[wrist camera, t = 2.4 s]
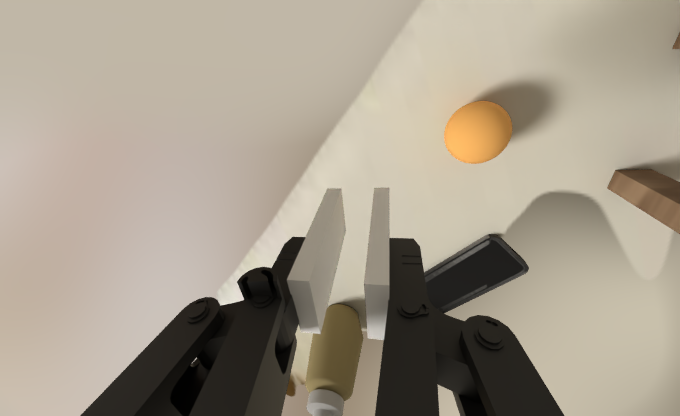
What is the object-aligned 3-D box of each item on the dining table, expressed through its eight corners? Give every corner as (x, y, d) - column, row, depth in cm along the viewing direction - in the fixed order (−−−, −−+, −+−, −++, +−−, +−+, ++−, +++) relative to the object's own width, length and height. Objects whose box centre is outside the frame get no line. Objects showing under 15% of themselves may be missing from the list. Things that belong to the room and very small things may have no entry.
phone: (401, 289, 39) (494, 234, 31) (401, 284, 40) (491, 228, 32) (437, 317, 40) (533, 270, 33) (436, 311, 41) (529, 264, 34)
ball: (504, 94, 24) (531, 104, 20) (493, 151, 27) (514, 172, 22) (442, 99, 25) (454, 109, 21) (437, 153, 28) (447, 173, 24)
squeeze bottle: (317, 295, 43) (279, 428, 28) (366, 302, 42) (353, 443, 27) (319, 325, 48) (287, 455, 32) (364, 332, 46) (351, 469, 31)
